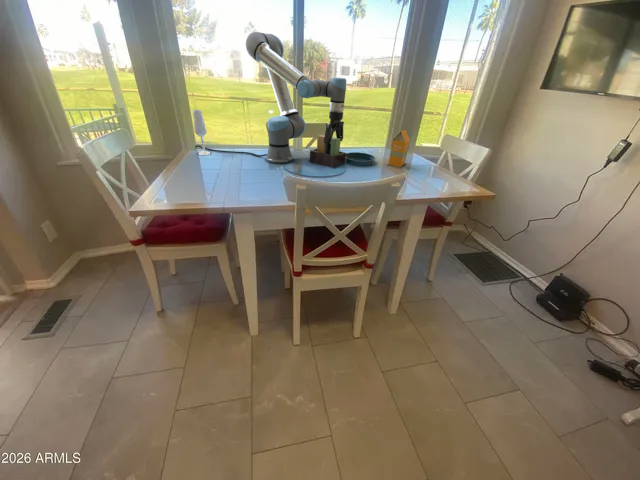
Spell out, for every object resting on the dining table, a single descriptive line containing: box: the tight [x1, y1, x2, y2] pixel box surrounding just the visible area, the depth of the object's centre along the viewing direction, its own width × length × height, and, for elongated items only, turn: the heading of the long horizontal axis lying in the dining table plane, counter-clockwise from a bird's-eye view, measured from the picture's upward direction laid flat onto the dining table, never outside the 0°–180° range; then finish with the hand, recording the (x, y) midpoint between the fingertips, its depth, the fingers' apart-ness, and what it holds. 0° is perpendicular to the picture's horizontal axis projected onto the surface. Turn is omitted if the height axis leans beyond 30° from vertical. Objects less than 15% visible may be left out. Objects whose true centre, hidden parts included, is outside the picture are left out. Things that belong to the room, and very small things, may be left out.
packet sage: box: [330, 136, 341, 156], centre depth 156 cm, size 5×4×14 cm
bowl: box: [344, 151, 376, 167], centre depth 165 cm, size 19×19×4 cm
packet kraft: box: [316, 134, 326, 154], centre depth 160 cm, size 5×4×14 cm
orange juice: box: [387, 129, 411, 168], centre depth 160 cm, size 8×9×20 cm
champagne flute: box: [191, 109, 211, 156], centre depth 159 cm, size 7×7×24 cm
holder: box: [309, 147, 347, 169], centre depth 161 cm, size 18×12×7 cm, turn 52°
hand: (332, 153), depth 157 cm, fingers open, 9 cm apart
